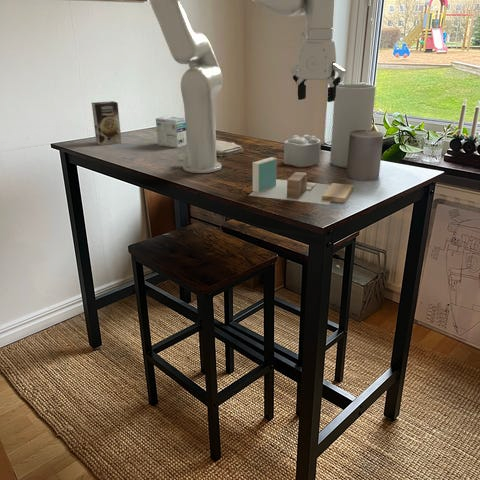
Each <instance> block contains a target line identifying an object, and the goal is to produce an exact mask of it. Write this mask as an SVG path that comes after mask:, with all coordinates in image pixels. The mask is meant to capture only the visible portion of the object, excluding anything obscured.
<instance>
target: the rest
mask: <svg viewBox="0 0 480 480" xmlns="http://www.w3.org/2000/svg"><path fill="white" fill-rule="evenodd" d="M329 185H330V186H329V187H328V189H327V190H326V191H325V193H324V194H323V195H322V200H326V201H331V202H336V203H346V201H347V200H348V198H349V197H350V196H351V194H352V193H353V190H354V184H346V183H338V182H337V183H336V182H331V184H329Z"/></svg>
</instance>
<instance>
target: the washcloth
mask: <svg viewBox="0 0 480 480" xmlns="http://www.w3.org/2000/svg"><path fill="white" fill-rule="evenodd" d="M244 151H245V150H244V148H243V147H242V145H239V144H236V143H235V142H228V141H225V140H218V139H216V156H218V157H221V158H223V157H228V156H232V155H236V154H240V153H243V152H244Z"/></svg>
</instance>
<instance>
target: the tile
mask: <svg viewBox="0 0 480 480" xmlns="http://www.w3.org/2000/svg"><path fill="white" fill-rule="evenodd" d="M277 160H278V159H277V157H272V156H270V157H268V158H263V159H260V160H257V161H253V162H252V192H253V191H255V192H260V191H263V190H266V189H268V188H271V187H274V186H276V179H277Z"/></svg>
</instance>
